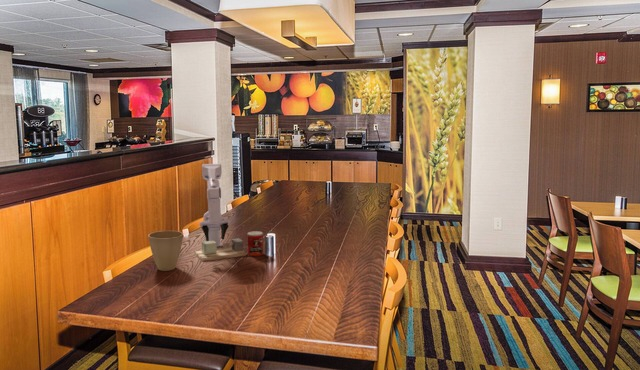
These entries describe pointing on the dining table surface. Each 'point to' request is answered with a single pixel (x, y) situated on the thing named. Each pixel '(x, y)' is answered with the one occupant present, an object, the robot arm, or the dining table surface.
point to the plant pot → (166, 248)
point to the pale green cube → (209, 247)
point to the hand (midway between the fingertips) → (215, 239)
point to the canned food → (255, 243)
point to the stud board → (224, 251)
